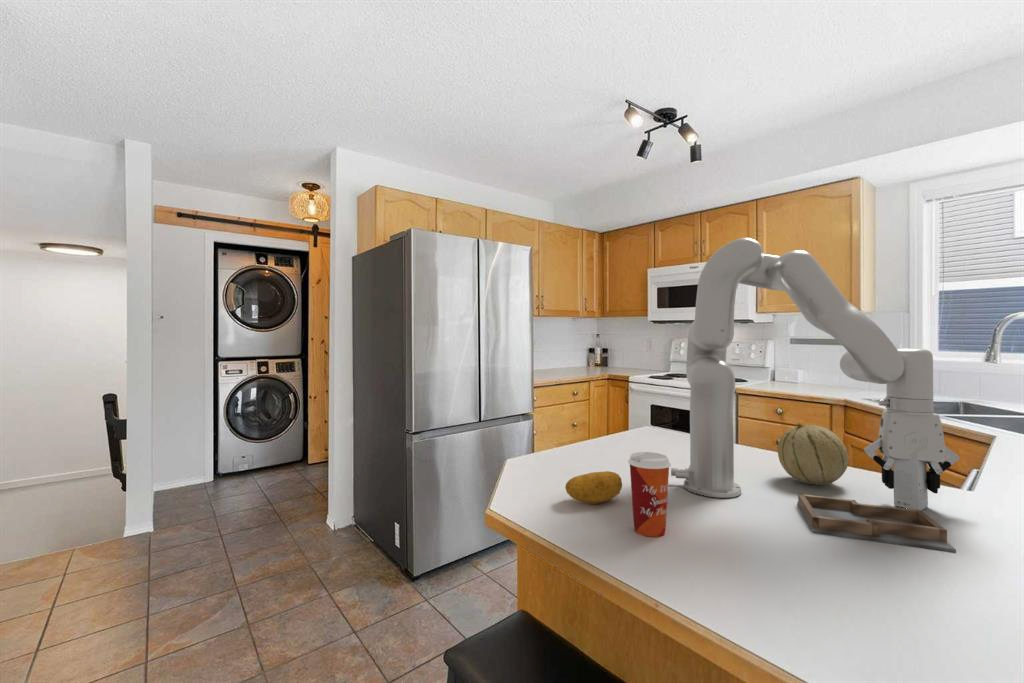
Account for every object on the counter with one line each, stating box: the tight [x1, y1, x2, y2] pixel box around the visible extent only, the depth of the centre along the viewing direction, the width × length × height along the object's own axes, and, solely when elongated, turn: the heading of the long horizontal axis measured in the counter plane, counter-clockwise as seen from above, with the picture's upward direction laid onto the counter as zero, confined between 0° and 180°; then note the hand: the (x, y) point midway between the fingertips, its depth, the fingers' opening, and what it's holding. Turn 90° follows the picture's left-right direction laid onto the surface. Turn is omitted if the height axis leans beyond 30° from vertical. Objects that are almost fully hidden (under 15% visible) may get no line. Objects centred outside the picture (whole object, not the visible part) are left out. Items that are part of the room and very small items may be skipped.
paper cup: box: [627, 451, 672, 538], centre depth 83 cm, size 8×8×14 cm
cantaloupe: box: [777, 422, 850, 486], centre depth 111 cm, size 15×15×15 cm
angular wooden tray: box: [797, 493, 957, 553], centre depth 85 cm, size 20×16×2 cm
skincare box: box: [892, 453, 929, 511], centre depth 95 cm, size 6×4×12 cm
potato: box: [564, 471, 623, 505], centre depth 98 cm, size 8×14×7 cm, turn 110°
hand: (910, 488), depth 95 cm, fingers closed on skincare box, 6 cm apart
